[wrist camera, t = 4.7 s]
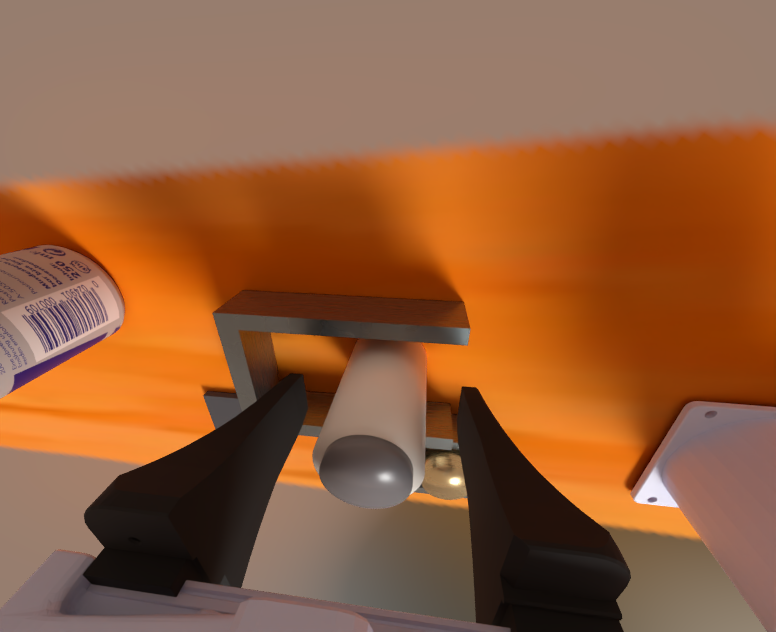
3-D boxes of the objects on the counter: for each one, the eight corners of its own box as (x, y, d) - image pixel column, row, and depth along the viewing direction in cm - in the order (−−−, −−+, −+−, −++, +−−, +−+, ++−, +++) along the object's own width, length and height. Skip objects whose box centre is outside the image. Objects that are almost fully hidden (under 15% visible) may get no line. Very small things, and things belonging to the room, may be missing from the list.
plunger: (471, 430, 18) (478, 469, 16) (465, 462, 19) (470, 502, 17) (423, 426, 18) (422, 463, 16) (420, 457, 19) (419, 496, 17)
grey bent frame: (514, 304, 14) (530, 332, 12) (477, 469, 20) (484, 508, 18) (242, 290, 15) (212, 312, 13) (280, 448, 21) (263, 482, 19)
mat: (283, 397, 19) (280, 402, 18) (292, 438, 20) (289, 443, 20) (207, 391, 19) (203, 395, 19) (221, 431, 21) (218, 436, 21)
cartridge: (429, 329, 15) (429, 446, 9) (424, 390, 17) (420, 522, 11) (351, 323, 16) (301, 431, 10) (354, 384, 18) (313, 507, 11)
